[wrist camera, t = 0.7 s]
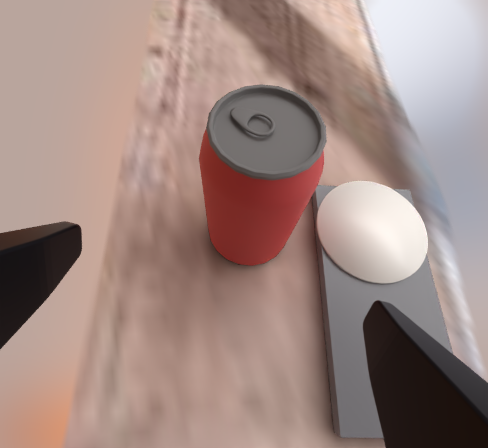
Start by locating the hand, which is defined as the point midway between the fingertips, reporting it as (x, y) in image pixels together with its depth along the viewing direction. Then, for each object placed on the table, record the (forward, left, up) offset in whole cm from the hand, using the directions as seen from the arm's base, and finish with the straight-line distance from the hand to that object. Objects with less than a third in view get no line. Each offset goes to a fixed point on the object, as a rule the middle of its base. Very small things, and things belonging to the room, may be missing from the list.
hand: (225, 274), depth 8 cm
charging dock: (+2, -12, -13) cm, 18 cm away
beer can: (+7, -2, -14) cm, 16 cm away
